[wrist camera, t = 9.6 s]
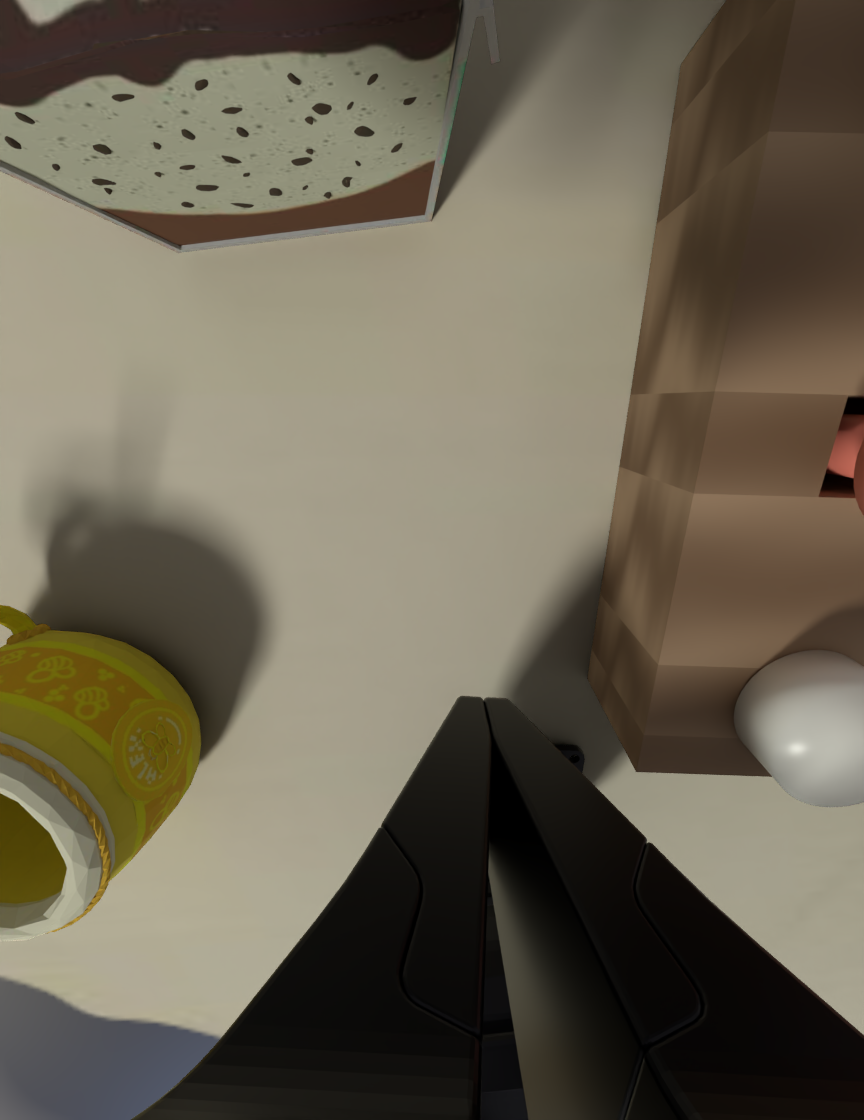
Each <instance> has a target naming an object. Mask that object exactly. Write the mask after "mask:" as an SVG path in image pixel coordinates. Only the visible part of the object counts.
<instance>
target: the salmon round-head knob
mask: <svg viewBox="0 0 864 1120" xmlns="http://www.w3.org/2000/svg"><path fill="white" fill-rule="evenodd" d="M826 473H828V474H833V475H839V476H844V477H850V478H854V492H855V497H856V501H857V504H858V506H859V509H860V511H861V512H862V514H863V516H864V415H854V414H843V415H842V418H841V422H840V425H839V429H838V432H837V435H836V439H835V442H834V446H833V449H832V453H831V456H830V459H829V463H828V466H827V470H826Z"/></svg>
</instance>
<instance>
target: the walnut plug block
mask: <svg viewBox="0 0 864 1120" xmlns="http://www.w3.org/2000/svg"><path fill="white" fill-rule="evenodd" d="M843 414H854V415H864V0H726V2H725V3H724V5H723V6H722V7H721V9H720V10H719V12H718V13H717V14H716V16H715V17H714V19H713V20H712V22H711V23H710V24H709V26H708V27H707V29H706V30H705V31H704V33H703V34H702V36H701V37H700V38H699V40H698V41H697V43H696V44H695V45H694V47H693V48H692V50H691V51H690V53H689V54H688V55H687V57H686V58H685V60H684V61H683V62H682V64H681V68H680V74H679V81H678V87H677V94H676V100H675V107H674V113H673V120H672V127H671V133H670V140H669V146H668V153H667V159H666V166H665V172H664V179H663V185H662V192H661V199H660V205H659V212H658V218H657V225H656V231H655V238H654V244H653V251H652V257H651V264H650V271H649V277H648V284H647V290H646V297H645V303H644V310H643V316H642V323H641V329H640V336H639V343H638V349H637V356H636V362H635V369H634V375H633V382H632V388H631V395H630V401H629V408H628V415H627V421H626V428H625V434H624V441H623V447H622V454H621V460H620V467H619V473H618V480H617V487H616V493H615V500H614V506H613V513H612V519H611V526H610V532H609V539H608V545H607V552H606V559H605V565H604V572H603V578H602V585H601V591H600V598H599V604H598V611H597V617H596V624H595V631H594V637H593V644H592V650H591V657H590V663H589V670H588V676H587V679H588V681H589V683H590V685H591V687H592V689H593V691H594V693H595V694H596V696H597V698H598V700H599V702H600V704H601V706H602V708H603V710H604V712H605V713H606V715H607V717H608V719H609V721H610V723H611V725H612V727H613V729H614V731H615V732H616V734H617V736H618V738H619V740H620V742H621V744H622V746H623V748H624V749H625V751H626V753H627V755H628V757H629V759H630V761H631V763H632V765H633V767H634V768H635V770H636V772H656V773H684V774H712V775H741V776H769V777H772V776H771V774H770V773H769V772H768V771H767V770H766V769H765V768H764V767H763V765H762V764H761V763H760V762H759V761H758V760H757V759H756V757H755V756H754V755H753V754H752V753H751V752H750V751H749V750H748V748H747V747H746V746H745V745H744V744H743V743H742V741H741V740H740V738H739V737H738V735H737V733H736V729H735V726H734V710H735V705H736V702H737V700H738V697H739V695H740V693H741V691H742V690H743V688H744V687H745V685H746V684H747V683H748V682H749V681H750V679H751V678H752V677H753V676H754V675H755V674H757V673H758V672H759V671H760V670H761V669H763V668H764V667H765V666H767V665H768V664H770V663H772V662H774V661H775V660H777V659H780V658H782V657H784V656H787V655H790V654H793V653H797V652H801V651H808V650H828V651H833V652H837V653H840V654H843V655H845V656H847V657H849V658H851V659H853V660H854V661H856V662H857V663H859V664H861V665H862V666H864V516H863V514H862V512H861V511H860V509H859V506H858V504H857V501H856V497H855V492H854V478H850V477H844V476H839V475H833V474H828V473H826V470H827V466H828V463H829V459H830V456H831V453H832V449H833V446H834V442H835V439H836V435H837V432H838V429H839V425H840V422H841V418H842V415H843Z"/></svg>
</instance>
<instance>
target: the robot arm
mask: <svg viewBox="0 0 864 1120" xmlns="http://www.w3.org/2000/svg"><path fill="white" fill-rule="evenodd" d="M572 755H576V756H575V757H570V756H572ZM583 765H584V754H583V752H582V750H581V748H580V747H578V746H575V745H554V744H552V743H551V742H550V741H549V740H548V739H547V738H546V737H545V736H544V735H543V734H542V733H541V732H540V731H539V730H538V729H537V728H536V727H535V726H534V725H533V724H532V723H531V722H530V721H529V720H528V718H527V717H526V716H525V715H524V714H523V713H522V712H521V711H520V710H519V709H518V708H517V707H516V706H515V705H514V704H513V703H512V702H511V701H509V700H508V699H506V698H490V697H488V698H485V699H484V701H483V699H482V698H481V697H471V696H460V697H459V698H458V699H457V700H456V702H455V704H454V705H453V707H452V709H451V710H450V712H449V714H448V715H447V717H446V719H445V720H444V722H443V724H442V725H441V727H440V729H439V730H438V732H437V733H436V735H435V737H434V738H433V740H432V742H431V743H430V745H429V747H428V748H427V750H426V752H425V753H424V755H423V757H422V758H421V760H420V762H419V763H418V765H417V766H416V768H415V770H414V771H413V773H412V775H411V776H410V778H409V780H408V781H407V783H406V785H405V786H404V788H403V790H402V791H401V793H400V795H399V796H398V798H397V800H396V801H395V803H394V804H393V806H392V808H391V809H390V811H389V813H388V814H387V816H386V818H385V819H384V821H383V823H382V825H381V828H379V829H378V830H377V832H376V834H375V835H374V837H373V839H372V840H371V842H370V844H369V845H368V847H367V848H366V850H365V852H364V853H363V855H362V856H361V858H360V859H359V861H358V862H357V864H356V865H355V867H354V868H353V870H352V871H351V873H350V874H349V876H348V877H347V879H346V880H345V882H344V883H343V885H342V886H341V887H340V889H339V890H338V891H337V893H336V894H335V895H334V897H333V898H332V899H331V901H330V902H329V903H328V905H327V906H326V907H325V909H324V910H323V911H322V913H321V914H320V915H319V916H318V918H317V919H316V920H315V922H314V923H313V924H312V925H311V927H310V928H309V929H308V930H307V932H306V933H305V934H304V935H303V937H302V938H301V939H300V940H299V942H298V943H297V944H296V945H295V947H294V948H293V949H292V950H291V952H290V953H289V954H288V955H287V957H286V958H285V959H284V960H283V962H282V963H281V964H280V965H279V967H278V968H277V969H276V970H275V972H274V973H273V974H272V976H271V977H270V978H269V979H268V981H267V982H266V983H265V984H264V986H263V987H262V988H261V989H260V991H259V992H258V993H257V994H256V996H255V997H254V998H253V999H252V1001H251V1002H250V1003H249V1004H248V1006H247V1007H246V1008H245V1009H244V1011H243V1012H242V1013H241V1014H240V1016H239V1017H238V1018H237V1019H236V1021H235V1022H234V1023H233V1024H232V1026H231V1027H230V1028H229V1029H228V1030H227V1032H226V1033H225V1034H224V1035H223V1036H222V1038H221V1039H220V1040H219V1041H218V1042H217V1044H216V1045H215V1046H214V1047H213V1048H212V1049H211V1050H210V1052H209V1053H208V1054H207V1055H206V1056H205V1057H204V1058H203V1059H202V1060H201V1062H199V1063H198V1064H197V1065H196V1066H195V1067H194V1068H193V1069H192V1070H191V1071H190V1072H189V1073H188V1074H187V1075H186V1076H185V1077H184V1078H183V1079H182V1080H181V1081H180V1082H179V1083H178V1084H177V1085H176V1086H174V1087H173V1088H172V1089H171V1090H170V1091H168V1092H167V1093H166V1094H165V1095H164V1096H163V1097H161V1098H160V1099H159V1100H158V1101H156V1102H155V1103H154V1104H152V1105H151V1106H150V1107H148V1108H147V1109H146V1110H144V1111H143V1112H141V1113H140V1114H138V1115H137V1116H135V1117H134V1118H133V1119H131V1120H864V1035H863V1034H862V1033H861V1032H860V1031H858V1030H857V1029H856V1028H855V1027H854V1026H853V1025H851V1024H850V1023H849V1022H848V1021H847V1020H846V1019H845V1018H843V1017H842V1016H841V1015H840V1014H839V1013H838V1012H836V1011H835V1010H834V1009H833V1008H832V1007H831V1006H830V1005H828V1004H827V1003H826V1002H825V1001H824V1000H823V999H822V998H820V997H819V996H818V995H817V994H816V993H815V992H813V991H812V990H811V989H810V988H809V987H808V986H807V985H805V984H804V983H803V982H802V981H801V980H800V979H798V978H797V977H796V976H795V975H794V974H793V973H792V972H790V971H789V970H788V969H787V968H786V967H785V966H784V965H782V964H781V963H780V962H779V961H778V960H777V959H775V958H774V957H773V956H772V955H771V954H770V953H769V952H767V951H766V950H765V949H764V948H763V947H762V946H760V945H759V944H758V943H757V942H756V941H755V940H754V939H753V938H751V937H750V936H749V935H748V934H747V933H746V932H745V931H744V930H743V929H741V928H740V927H739V926H738V925H737V924H736V923H735V922H734V921H732V920H731V919H730V918H729V917H728V916H727V915H726V914H725V913H724V912H722V911H721V910H720V909H719V908H718V907H717V906H716V905H715V904H714V903H712V902H711V901H710V900H709V899H708V898H707V897H706V896H705V895H704V894H703V893H702V892H701V891H700V890H699V889H698V888H697V887H696V886H695V885H694V884H693V883H692V882H691V881H689V880H688V879H687V878H686V877H685V876H684V875H683V874H682V873H681V872H680V871H679V870H678V869H677V868H676V867H675V866H674V865H673V864H672V863H671V862H670V861H669V860H668V859H667V858H666V857H665V856H664V855H663V854H662V853H661V852H660V851H659V850H658V849H657V848H656V847H655V846H654V845H653V844H652V843H647V839H646V837H645V836H644V835H643V834H642V833H641V832H640V831H639V830H638V829H637V828H636V827H635V826H634V825H633V824H632V823H631V822H630V821H629V820H628V819H627V818H626V817H625V816H624V815H623V814H622V813H621V812H620V811H619V810H618V809H617V808H616V807H615V806H614V805H613V804H612V803H611V802H610V801H609V800H608V799H607V798H606V797H605V796H604V795H603V794H602V793H601V792H600V791H599V790H598V789H597V788H596V787H595V786H594V785H593V784H592V783H591V782H590V781H589V780H588V779H587V778H586V777H585V776H584V775H583V774H582V771H583ZM646 843H647V844H646Z"/></svg>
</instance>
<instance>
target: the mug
mask: <svg viewBox="0 0 864 1120" xmlns="http://www.w3.org/2000/svg"><path fill="white" fill-rule="evenodd" d="M0 624H2V625H4V626H5V627H7V628H9V629H10V630H11V631H12V633H13V635H12V636H10V637H9V638H8V639H7V644H6V645H4V646H2V647H1V648H0V941H26V940H29V939H32V938H34V937H37V936H40V935H42V934H46V933H49V932H55V931H57V930H60V929H62V928H65V927H67V926H69V925H72V924H73V923H74V922H76V921H78V920H79V919H80V918H82V917H83V916H84V915H85V914H87V913H88V912H89V911H90V910H91V909H92V908H93V907H94V906H95V905H96V904H97V902H98V901H99V900H100V899H101V897H102V896H103V894H104V892H105V890H106V888H107V886H108V882H109V881H110V880H111V879H112V878H113V877H115V876H116V875H117V874H118V873H119V872H120V871H121V870H122V869H123V868H124V867H125V866H126V865H127V864H128V863H129V862H130V861H131V860H132V859H133V857H134V856H135V855H136V854H137V853H138V852H139V851H140V850H141V848H142V847H143V846H144V845H145V844H146V843H147V842H148V841H149V839H150V838H151V837H152V836H153V835H154V833H155V832H156V831H157V830H158V828H159V827H160V826H161V825H162V823H163V822H164V821H165V820H166V819H167V817H168V816H169V815H170V814H171V812H172V811H173V810H174V809H175V807H176V806H177V805H178V803H179V802H180V800H181V799H182V797H183V796H184V794H185V793H186V791H187V789H188V788H189V786H190V785H191V782H192V780H193V777H194V775H195V772H196V770H197V767H198V764H199V757H200V749H201V734H200V725H199V719H198V716H197V714H196V711H195V709H194V707H193V704H192V702H191V699H190V697H189V696H188V694H187V693H186V692H185V690H184V689H183V688H182V687H181V685H180V684H179V683H178V681H177V680H176V679H175V677H174V676H173V675H172V674H171V673H170V672H168V671H167V670H166V669H165V668H164V667H163V666H161V665H160V664H159V663H158V662H157V661H155V660H154V659H153V658H152V657H151V656H149V655H147V654H145V653H143V652H141V651H140V650H138V649H136V648H134V647H132V646H130V645H128V644H127V643H125V642H121V641H118V640H115V639H111V638H108V637H104V636H101V635H95V634H90V633H84V632H70V631H57V630H50V629H51V628H50V627H49V626H48V625H47V624H39V625H36V624H35V623H34V622H33V621H32V620H31V619H30V618H29V617H28V616H27V615H26V614H25V613H23V612H20V611H18V610H16V609H14V608H12V607H10V606H3V605H0Z"/></svg>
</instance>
